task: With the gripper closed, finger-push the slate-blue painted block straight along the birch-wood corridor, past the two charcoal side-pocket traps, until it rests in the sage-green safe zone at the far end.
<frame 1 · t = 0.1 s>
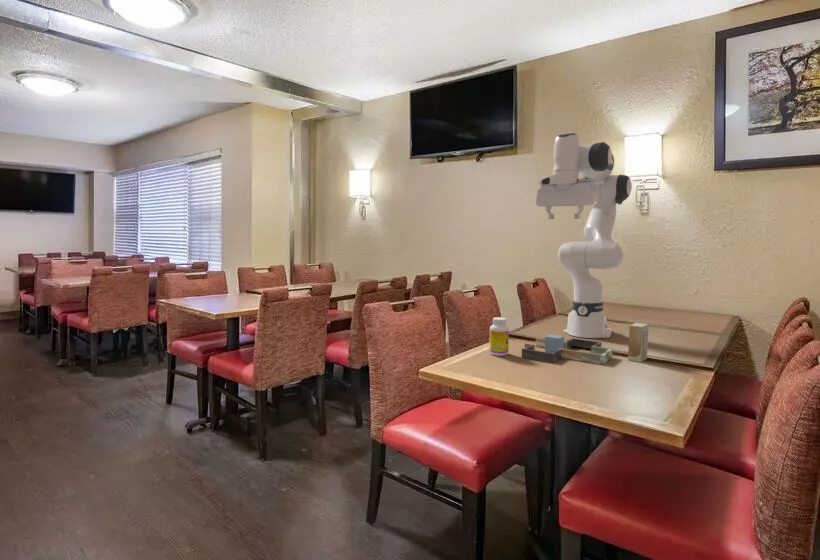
hand: (563, 219, 172), 48 cm above the table, fingers open, 8 cm apart
supplement bottle: (498, 354, 171), on the table
block: (554, 352, 173), resting in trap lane
skincare box: (637, 360, 164), on the table
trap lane: (565, 354, 171), on the table
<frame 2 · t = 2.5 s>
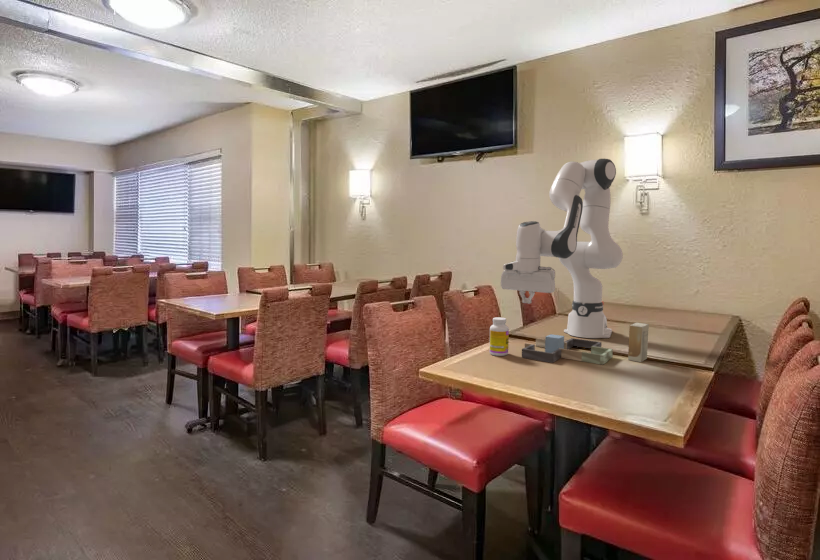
hand: (526, 303, 178), 17 cm above the table, fingers closed
nothing on the table moved.
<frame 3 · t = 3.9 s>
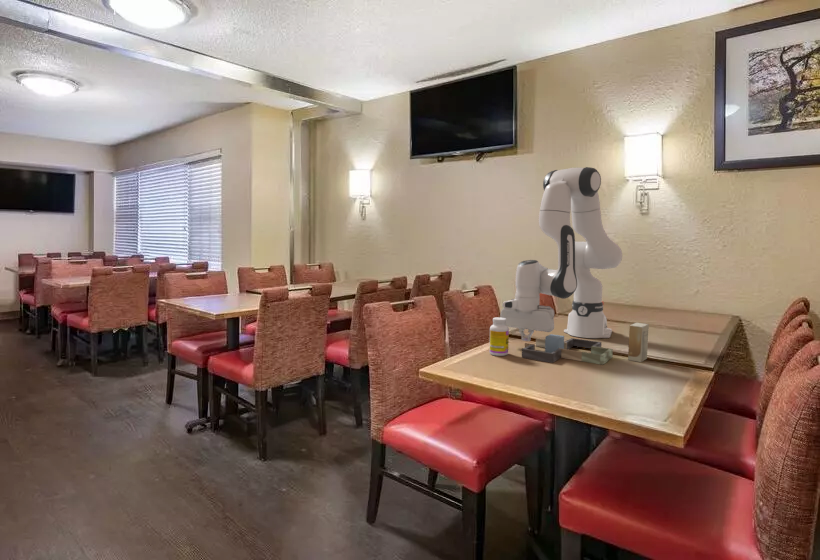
hand: (526, 340, 179), 3 cm above the table, fingers closed
nothing on the table moved.
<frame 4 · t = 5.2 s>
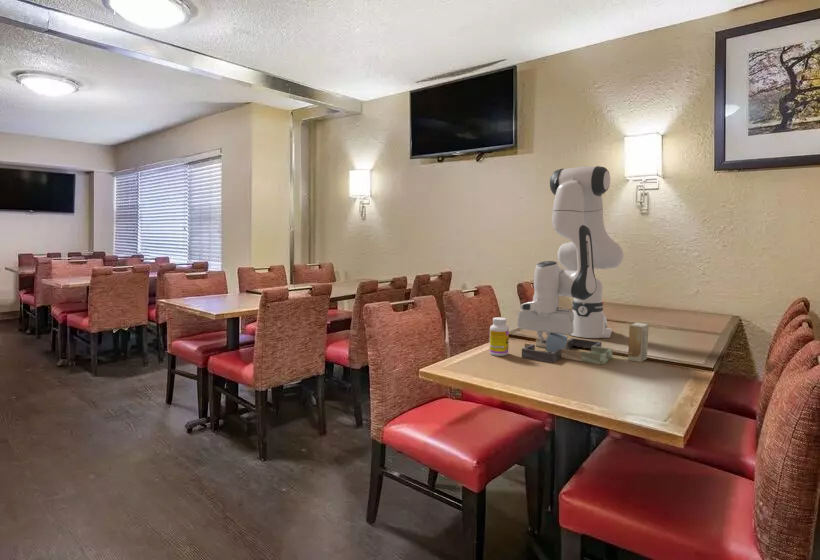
hand: (544, 343, 175), 3 cm above the table, fingers closed
block: (554, 351, 173), resting in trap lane, tilted 13°
everything else where it was.
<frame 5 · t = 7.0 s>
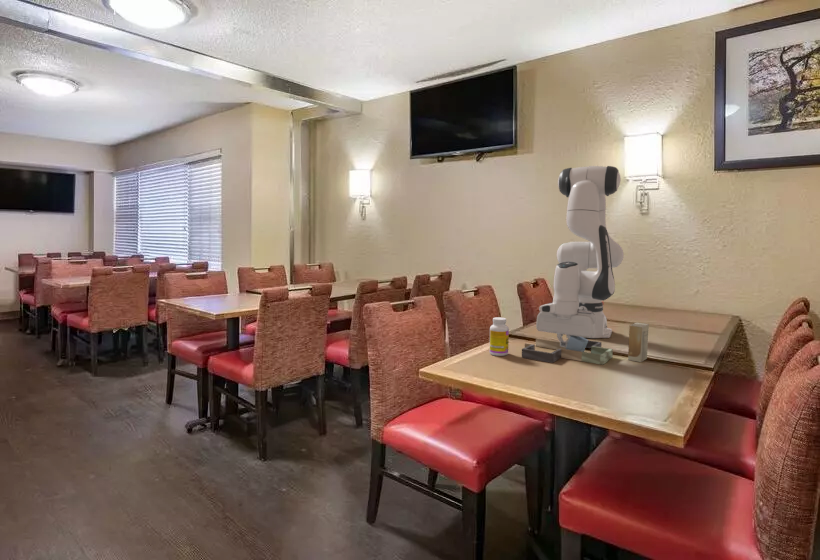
hand: (564, 346, 171), 3 cm above the table, fingers closed
block: (573, 353, 169), point 1 cm above the table, tilted 18°, touching gripper
everything else where it was.
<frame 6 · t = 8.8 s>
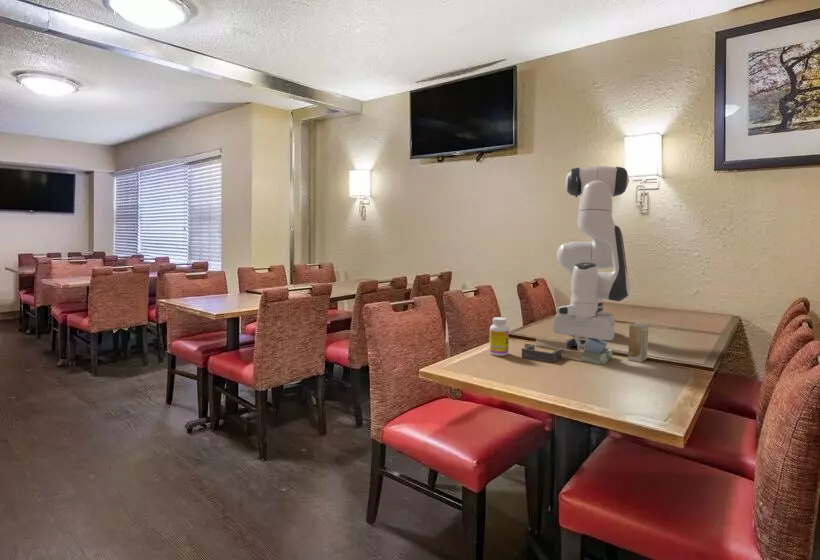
hand: (582, 349, 167), 3 cm above the table, fingers closed
block: (592, 356, 165), point 1 cm above the table, tilted 18°, touching gripper
everything else where it was.
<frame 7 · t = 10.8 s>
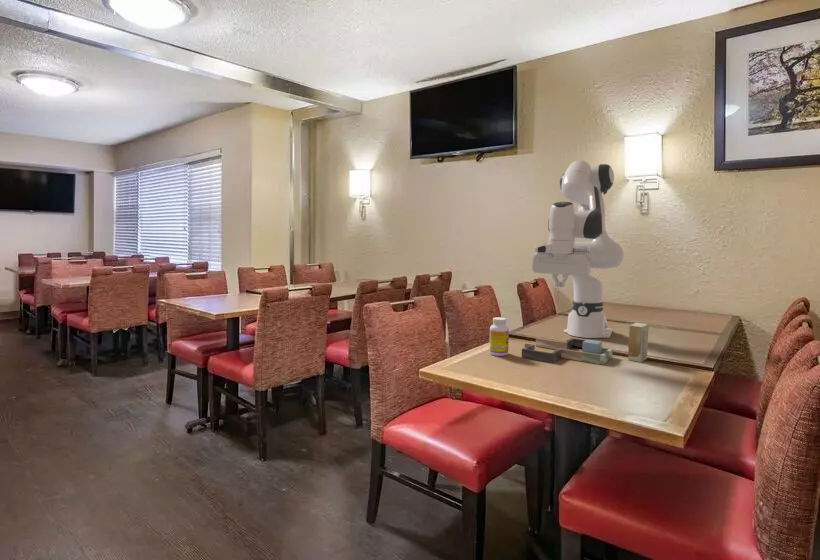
hand: (559, 286, 172), 24 cm above the table, fingers closed
block: (591, 358, 165), resting in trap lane
everything else where it was.
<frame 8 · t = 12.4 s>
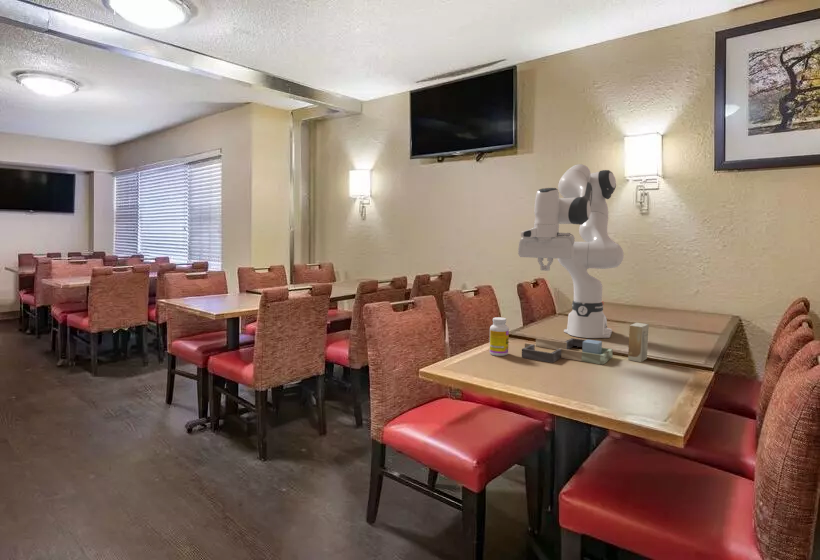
hand: (545, 270, 177), 29 cm above the table, fingers closed
nothing on the table moved.
at the end: block 0.8 cm from the target spot, resting in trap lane; block tilted 0°; block moved 13.2 cm from its start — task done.
